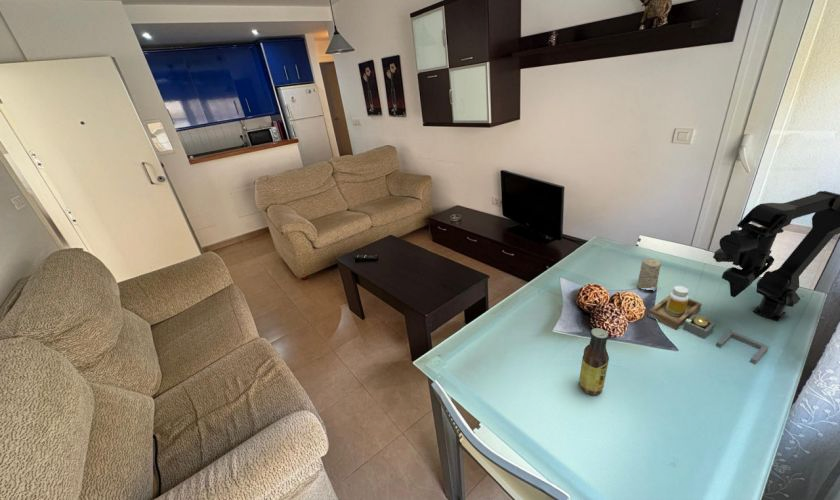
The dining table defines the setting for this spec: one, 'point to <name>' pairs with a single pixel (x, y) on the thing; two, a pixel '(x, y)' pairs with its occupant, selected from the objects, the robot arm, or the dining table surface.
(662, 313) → the brown wooden tray
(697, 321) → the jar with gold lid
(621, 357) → the dining table surface
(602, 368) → the sauce bottle
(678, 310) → the supplement bottle
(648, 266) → the carving
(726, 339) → the grey angular frames
